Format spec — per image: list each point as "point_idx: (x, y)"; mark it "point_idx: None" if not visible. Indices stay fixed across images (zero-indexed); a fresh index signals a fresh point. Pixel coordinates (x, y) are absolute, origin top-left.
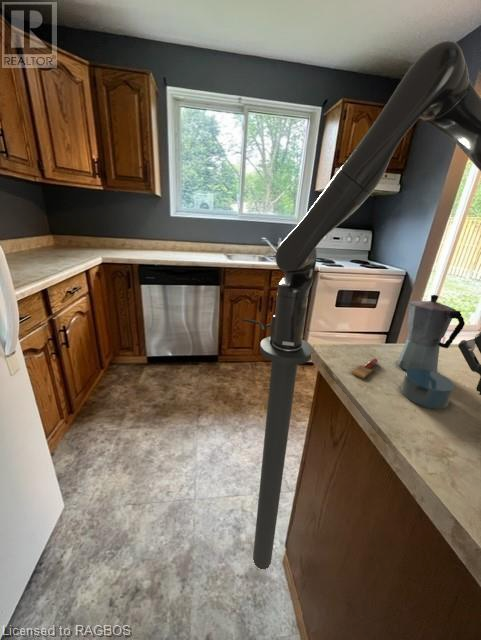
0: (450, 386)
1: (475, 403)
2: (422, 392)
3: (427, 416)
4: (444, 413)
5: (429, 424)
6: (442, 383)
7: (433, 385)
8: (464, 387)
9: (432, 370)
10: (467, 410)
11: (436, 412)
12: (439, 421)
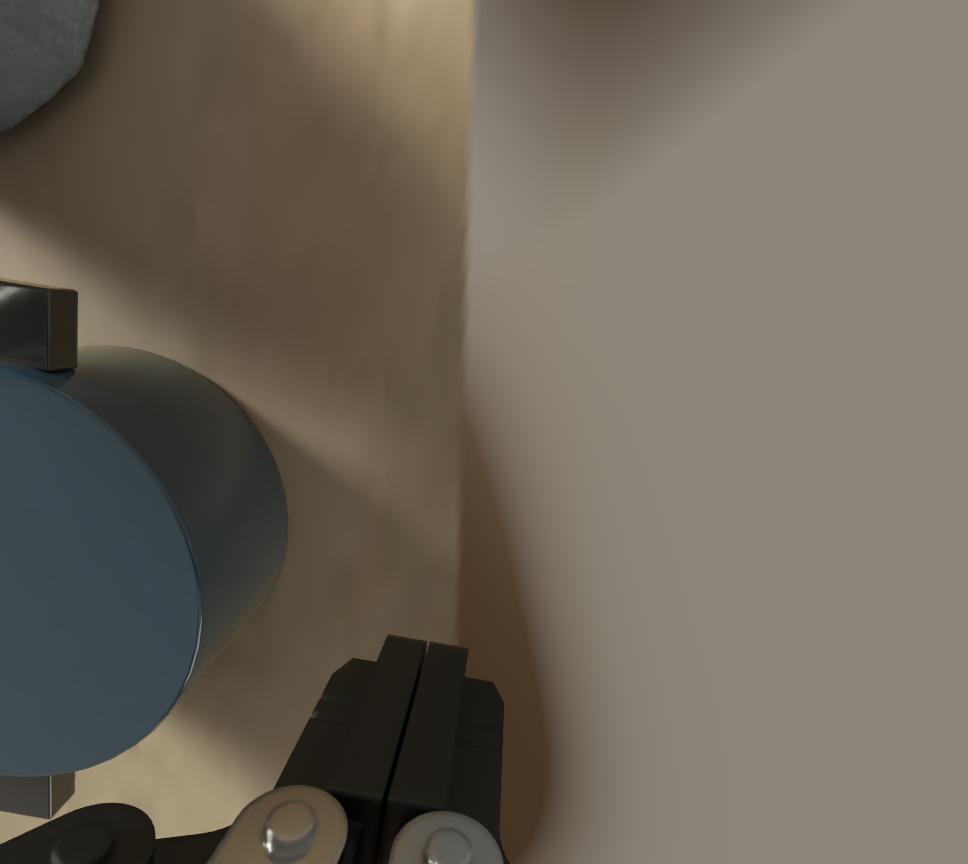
0: (170, 613)
1: (464, 338)
2: (27, 813)
3: (204, 752)
4: (283, 650)
5: (228, 823)
6: (100, 604)
7: (46, 703)
8: (383, 58)
9: (27, 28)
10: (411, 501)
11: (240, 671)
12: (269, 759)
